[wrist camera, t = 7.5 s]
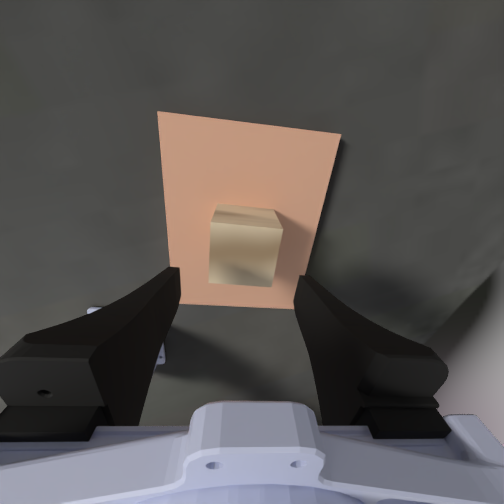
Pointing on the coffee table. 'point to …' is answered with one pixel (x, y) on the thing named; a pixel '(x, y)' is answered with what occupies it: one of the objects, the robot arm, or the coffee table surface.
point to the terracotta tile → (241, 197)
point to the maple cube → (243, 245)
